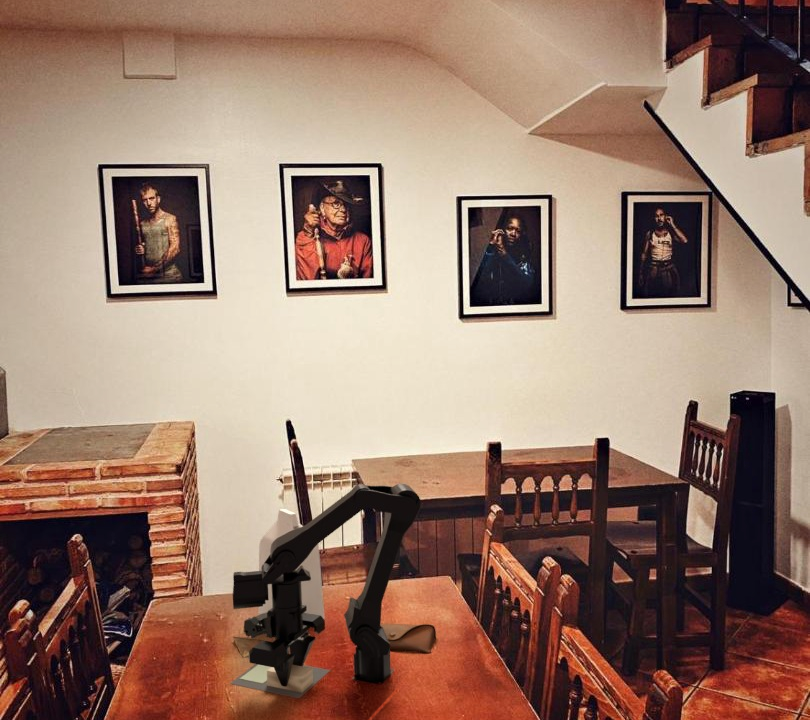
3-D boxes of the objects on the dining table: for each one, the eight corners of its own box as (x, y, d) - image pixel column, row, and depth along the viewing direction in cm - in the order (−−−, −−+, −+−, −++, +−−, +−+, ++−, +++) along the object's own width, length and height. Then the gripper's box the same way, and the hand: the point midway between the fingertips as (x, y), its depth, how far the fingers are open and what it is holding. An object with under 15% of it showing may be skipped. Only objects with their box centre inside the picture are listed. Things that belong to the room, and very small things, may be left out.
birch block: (313, 683, 150) (312, 668, 150) (302, 692, 147) (301, 677, 147) (278, 676, 154) (278, 661, 153) (267, 685, 150) (266, 670, 150)
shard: (233, 642, 172) (232, 635, 172) (266, 636, 175) (266, 628, 175) (242, 663, 162) (241, 655, 162) (277, 656, 165) (277, 648, 165)
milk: (258, 616, 186) (254, 511, 184) (300, 604, 193) (296, 502, 191) (281, 632, 176) (277, 521, 175) (324, 619, 183) (320, 512, 182)
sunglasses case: (350, 650, 165) (352, 618, 168) (355, 654, 172) (357, 623, 175) (433, 653, 163) (433, 620, 166) (435, 657, 169) (436, 625, 172)
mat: (330, 673, 156) (330, 669, 156) (299, 701, 145) (299, 697, 145) (264, 660, 162) (264, 657, 162) (229, 686, 151) (229, 682, 151)
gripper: (278, 582, 161) (281, 654, 162) (223, 615, 144) (227, 695, 145) (324, 588, 156) (327, 662, 157) (273, 623, 139) (276, 706, 140)
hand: (290, 680), depth 150 cm, fingers closed on birch block, 4 cm apart
